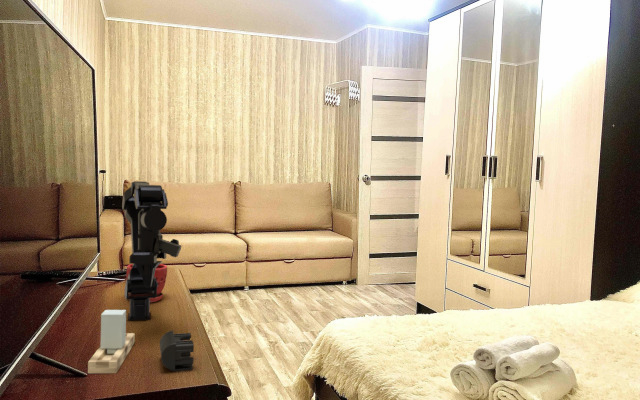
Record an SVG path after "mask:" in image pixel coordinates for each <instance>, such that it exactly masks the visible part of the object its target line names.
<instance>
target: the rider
mask: <svg viewBox="0 0 640 400" xmlns="http://www.w3.org/2000/svg"><path fill="white" fill-rule="evenodd" d="M126 327H127V310H126V309H105V310H104V311H103V312H102V313H101V314H100V346H101V349H107V354H115V352H116V351H117V349H122V347H123V346H124V344H125V341H126V333H127V330H126V329H127V328H126Z"/></svg>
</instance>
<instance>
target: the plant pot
mask: <svg viewBox="0 0 640 400" xmlns="http://www.w3.org/2000/svg"><path fill="white" fill-rule="evenodd" d="M132 267H133V264H130V263H129V264H128V265H127V266H126V271H125V272H126V276H125V277H126V279H128V275H129V272H130V270H131V269H132ZM167 275H168V266H167V265H166V264H162V263H160V264H159V265H158V266H157V267H156V270H155V274H154V278H156V280H157V282H158V288H157V296H156V297H155V298H150V303H155V302H158V301H160V300H161V299H162V298H163V296H164V294H163V293H162V292H163V290H164V289H165V284H166V281H167ZM126 279H125V280H126ZM129 294H130V293H129ZM128 300H129V301H130V299H128Z"/></svg>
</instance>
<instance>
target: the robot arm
mask: <svg viewBox="0 0 640 400" xmlns="http://www.w3.org/2000/svg"><path fill="white" fill-rule="evenodd" d="M121 204H122V205H121V207H122V211H124V217H125V219H126V220H127V221H128V223H129V224H130V235H131V236H130V237H131V254H130V255H129V261H128V262H129V265H130V264H133V267H132V269H131V270H130V272H129V275H128V279H125V285H124V290H123V291H124V298H125V300H126V301H128V300H129V299H130V300H129V312H128V315H127V321H145V320H147V321H148V320H151V319H152V312H151V311H150V308H151V307H150V305H151V304H150V303H151V302H150V298H155V297H156V296H157V288H158V282H157V280H156V277H155V278H154V274H155V270H156V267H157V266H158V265H159V264H162V263H163V261H162V260H165V259H167V255H169V256H170V257H172V258H177V257H178V256H179V254H180V252H181V250H182V247H183V245H182V244H181V245H180V242H179V240H178V239H176V238H173V239H171V240H170V241H169V240H166V239H164V238H163V237H164V236H163V234H162V233H161V230H162V229H164V228H165V226H166V225H167V222H168V217H167V215H166V213H165V212H164V211H163V210H167V207H168V205H169V202H168V197H167V193H166V191H165V189H163V186H162V185H159V184H150V182H147V181H141V180H140V181H139V180H138V181H136V180H135V181H131V183H130V187H129V188H127V189H126V190H125V191H124V192H123V196H122V203H121ZM158 259H162V260H158ZM129 293H130V294H129Z"/></svg>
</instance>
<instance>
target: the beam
mask: <svg viewBox="0 0 640 400" xmlns="http://www.w3.org/2000/svg"><path fill="white" fill-rule="evenodd" d="M135 337H136V336H135V332H131V333H130V332H126V341H125V344H124V346H123V347H122V349H117V351H116V352H115V354H107V349H101V345H100V346H99V347H98V349H97V350H96V351H95V353H94V354H93V355H92V356H91V358H90V359H89V360H88V362H87V374H116V373H117V372H118V371H119V370H120V368H121V366H122V365H123V363H124V361H125V359H126V357H127V356H128V355H129V353H130V351H131V349H132V348H133V346H134V345H135Z"/></svg>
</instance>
